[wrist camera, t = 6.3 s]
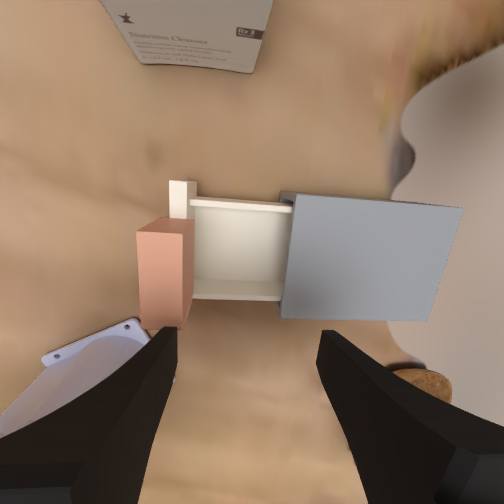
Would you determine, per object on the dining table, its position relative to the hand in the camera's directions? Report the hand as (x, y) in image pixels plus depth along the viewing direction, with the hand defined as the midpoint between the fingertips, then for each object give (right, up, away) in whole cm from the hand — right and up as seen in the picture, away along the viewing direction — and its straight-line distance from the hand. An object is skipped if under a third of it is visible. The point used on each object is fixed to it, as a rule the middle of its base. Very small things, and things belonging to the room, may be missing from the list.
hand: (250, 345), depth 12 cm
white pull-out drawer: (0, +5, +9) cm, 11 cm away
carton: (+8, +5, +10) cm, 14 cm away
